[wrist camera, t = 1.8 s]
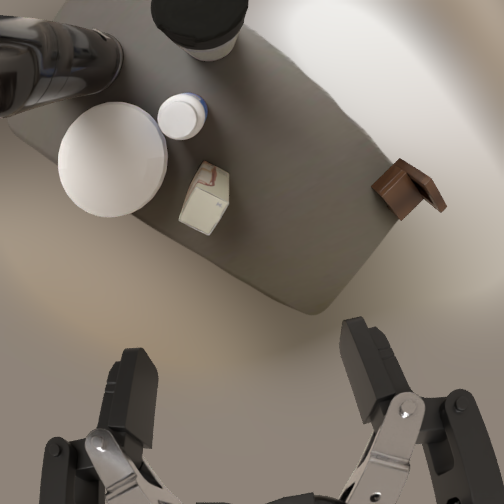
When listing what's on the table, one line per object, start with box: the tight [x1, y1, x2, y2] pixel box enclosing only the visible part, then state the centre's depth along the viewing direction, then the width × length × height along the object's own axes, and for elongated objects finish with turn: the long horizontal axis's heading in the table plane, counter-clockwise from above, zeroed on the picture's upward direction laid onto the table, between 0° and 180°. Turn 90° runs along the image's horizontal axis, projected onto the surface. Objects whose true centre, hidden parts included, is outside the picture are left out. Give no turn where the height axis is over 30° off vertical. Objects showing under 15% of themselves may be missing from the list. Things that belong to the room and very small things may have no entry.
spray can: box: [151, 0, 248, 61], centre depth 21 cm, size 7×7×20 cm
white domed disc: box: [58, 102, 168, 217], centre depth 34 cm, size 16×16×7 cm
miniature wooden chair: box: [371, 158, 447, 221], centre depth 40 cm, size 6×7×9 cm
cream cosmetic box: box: [179, 161, 229, 235], centre depth 37 cm, size 5×4×10 cm
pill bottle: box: [157, 93, 208, 140], centre depth 31 cm, size 6×5×10 cm
